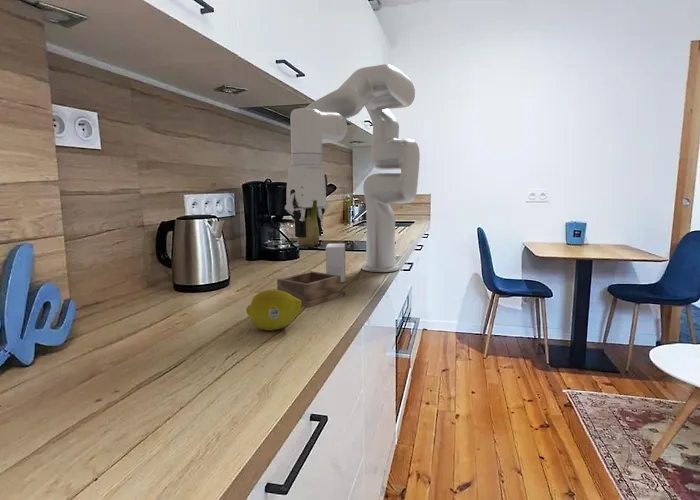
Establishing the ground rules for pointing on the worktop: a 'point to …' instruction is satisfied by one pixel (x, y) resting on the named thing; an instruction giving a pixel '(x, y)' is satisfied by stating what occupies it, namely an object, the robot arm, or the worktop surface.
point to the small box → (335, 260)
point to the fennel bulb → (310, 227)
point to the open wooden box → (312, 287)
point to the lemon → (273, 309)
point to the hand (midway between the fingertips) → (308, 235)
